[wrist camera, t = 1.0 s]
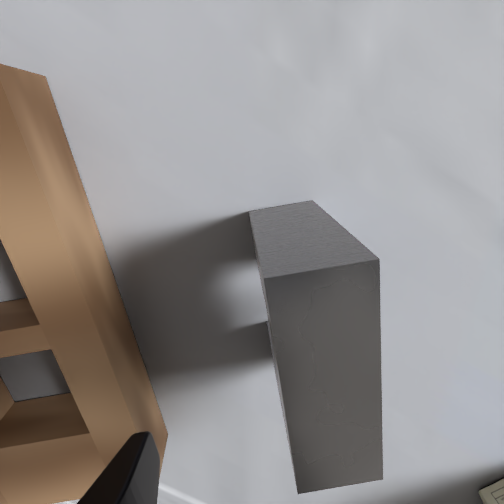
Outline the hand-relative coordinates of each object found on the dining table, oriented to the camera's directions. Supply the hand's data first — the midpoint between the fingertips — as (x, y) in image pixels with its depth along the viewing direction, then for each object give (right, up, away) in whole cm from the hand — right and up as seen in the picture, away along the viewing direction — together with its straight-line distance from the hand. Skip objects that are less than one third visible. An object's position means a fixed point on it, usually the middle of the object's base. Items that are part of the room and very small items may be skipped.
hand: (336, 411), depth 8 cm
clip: (0, +2, +6) cm, 6 cm away
